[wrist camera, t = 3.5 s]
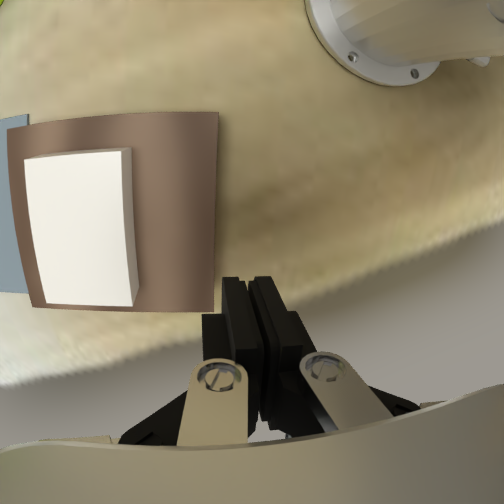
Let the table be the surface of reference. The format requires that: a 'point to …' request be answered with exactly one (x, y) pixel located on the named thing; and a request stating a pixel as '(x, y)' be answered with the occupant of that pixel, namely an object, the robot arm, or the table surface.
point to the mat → (9, 218)
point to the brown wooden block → (139, 201)
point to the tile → (84, 226)
